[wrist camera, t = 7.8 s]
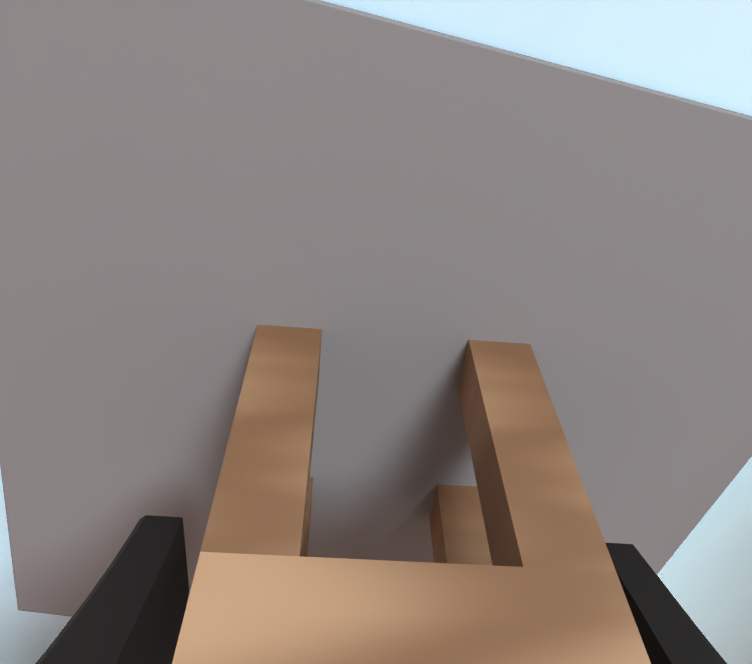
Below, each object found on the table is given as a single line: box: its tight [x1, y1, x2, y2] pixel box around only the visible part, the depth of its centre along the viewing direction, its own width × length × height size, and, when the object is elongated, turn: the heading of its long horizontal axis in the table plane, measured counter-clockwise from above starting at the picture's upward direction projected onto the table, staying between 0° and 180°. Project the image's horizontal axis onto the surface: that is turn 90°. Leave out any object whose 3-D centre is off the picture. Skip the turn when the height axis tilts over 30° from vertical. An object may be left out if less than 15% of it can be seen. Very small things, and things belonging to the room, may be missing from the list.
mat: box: [0, 0, 752, 616], centre depth 14 cm, size 16×16×1 cm
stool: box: [172, 325, 651, 664], centre depth 11 cm, size 5×5×7 cm
